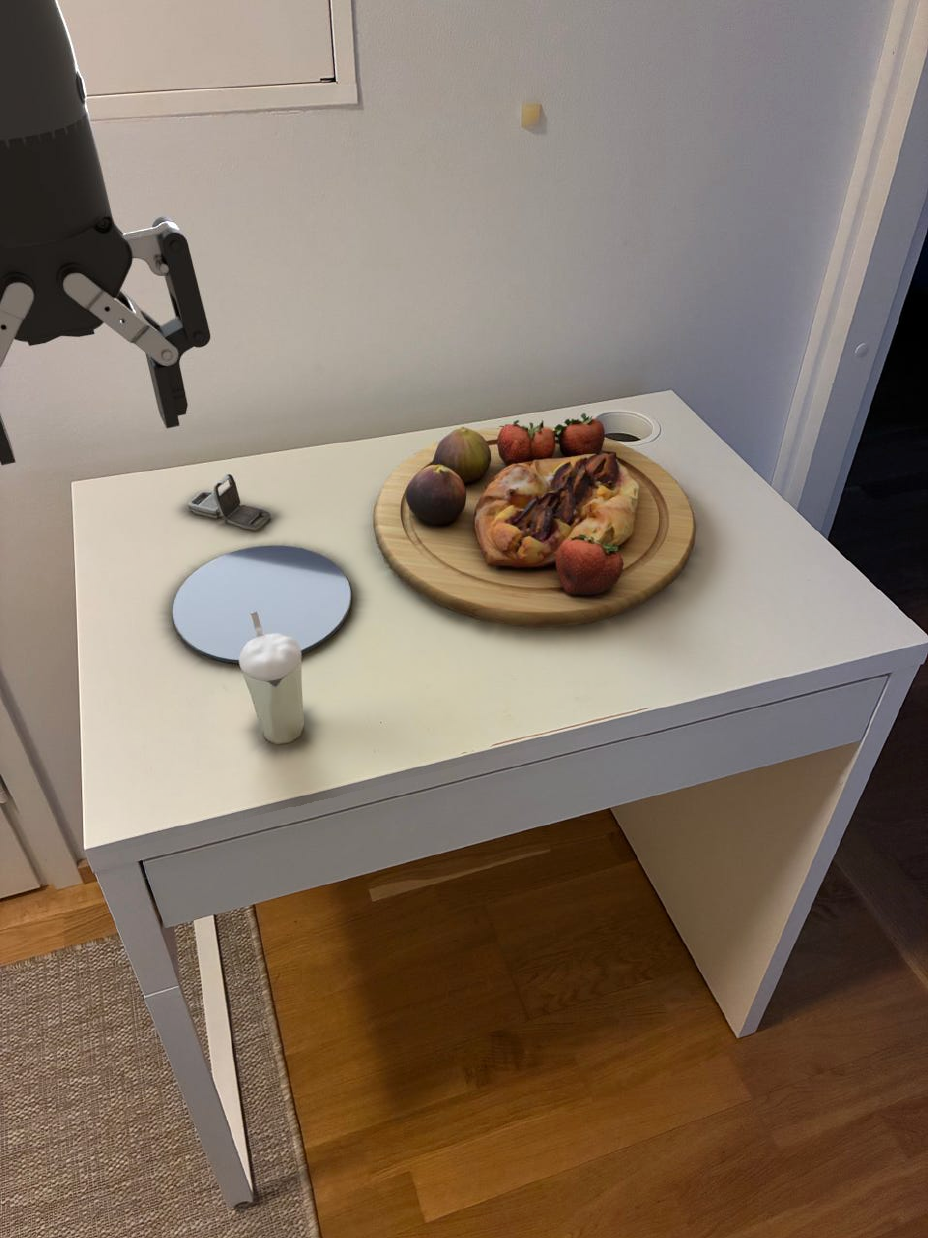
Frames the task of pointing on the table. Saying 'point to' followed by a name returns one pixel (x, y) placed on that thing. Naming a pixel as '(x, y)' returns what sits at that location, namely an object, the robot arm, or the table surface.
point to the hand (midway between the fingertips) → (90, 438)
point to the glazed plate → (261, 600)
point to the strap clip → (227, 506)
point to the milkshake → (274, 683)
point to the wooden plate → (534, 524)
